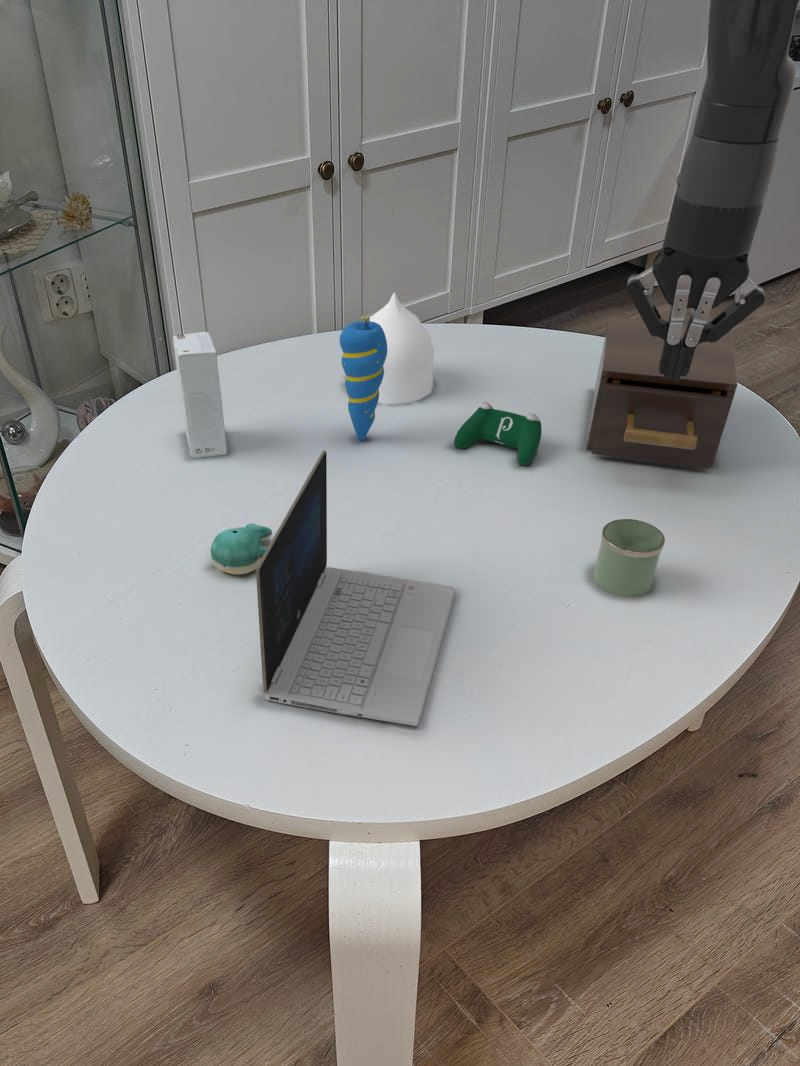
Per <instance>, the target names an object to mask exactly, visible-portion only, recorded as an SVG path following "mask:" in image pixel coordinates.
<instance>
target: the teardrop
mask: <svg viewBox="0 0 800 1066" xmlns="http://www.w3.org/2000/svg"><path fill="white" fill-rule="evenodd" d="M369 317H370V321H372V322H375V323H378V324H379V325H380V326H381V327H382V329H383V331H384V333H385V336H386V341H387V356H386V360H385V362H384V365H383V367H384V377H383V380H382V382H381V385H380V387H379V399H378V403H377V404H385V405H402V404H403V405H404V404H410V403H414V402H418V401H420V400H421V399H424V398H425V397H427V396H428V395H430V394H431V393H432V390H433V388H434V352H435V351H434V346H433V343H432V338H431V336H430V335H429V332H428V331H427V330H426V328H425V326H424V325H423V323H422V322H421V320H420V319H419V317H418V316H417V315H416V314H414V313H413V312H412V311H409V310H408V308H407V307H405V306H404V305H403V304H402V303H401V302H400V300H399V298H398V296H397V294H396V292H395V291H393V293H392V295H391V297H390V299H389V301H388V302H387V303H386V304H385V305H384V306H383V307H382V308H381V309H379V310H378V311H376V312H375V313H374V314H372V315H371V316H369Z"/></svg>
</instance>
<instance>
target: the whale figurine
mask: <svg viewBox="0 0 800 1066" xmlns="http://www.w3.org/2000/svg"><path fill="white" fill-rule="evenodd" d="M272 535H273V530H272V529H271V528H269V527H267V526H264V525H259V524H255V523H248V524H246V525H245V526H243V527H235V528H228V529H225V530H222V531H221V532H219V533H218V534H217V535H216V536H215V537H214V539H213V540H212V543H211V546H210V557H211V561H212V564H213V565H214V567H215V568H216V569H218V570H219V571H221V572H223V573H227V574H231V575H245V574H249V573H252V572H253V571H256V568H257V566H258V564H259V562H260V560H261V559H262V557H263V555H264V553H265V552H266V550H267V548H268V546H263V545H262V542H264V541H266V540H267V539H269V538H270V537H272Z"/></svg>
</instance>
